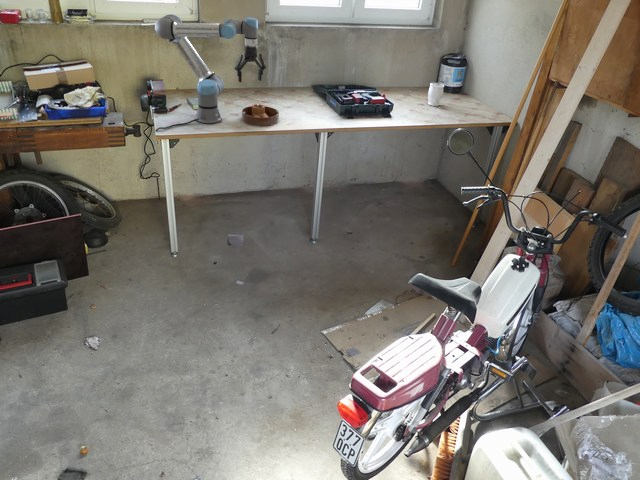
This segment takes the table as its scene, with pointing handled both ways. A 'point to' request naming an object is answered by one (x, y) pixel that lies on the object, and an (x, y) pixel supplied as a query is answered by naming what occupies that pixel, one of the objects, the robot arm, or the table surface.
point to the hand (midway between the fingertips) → (249, 81)
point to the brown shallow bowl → (257, 121)
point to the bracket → (258, 111)
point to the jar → (435, 93)
